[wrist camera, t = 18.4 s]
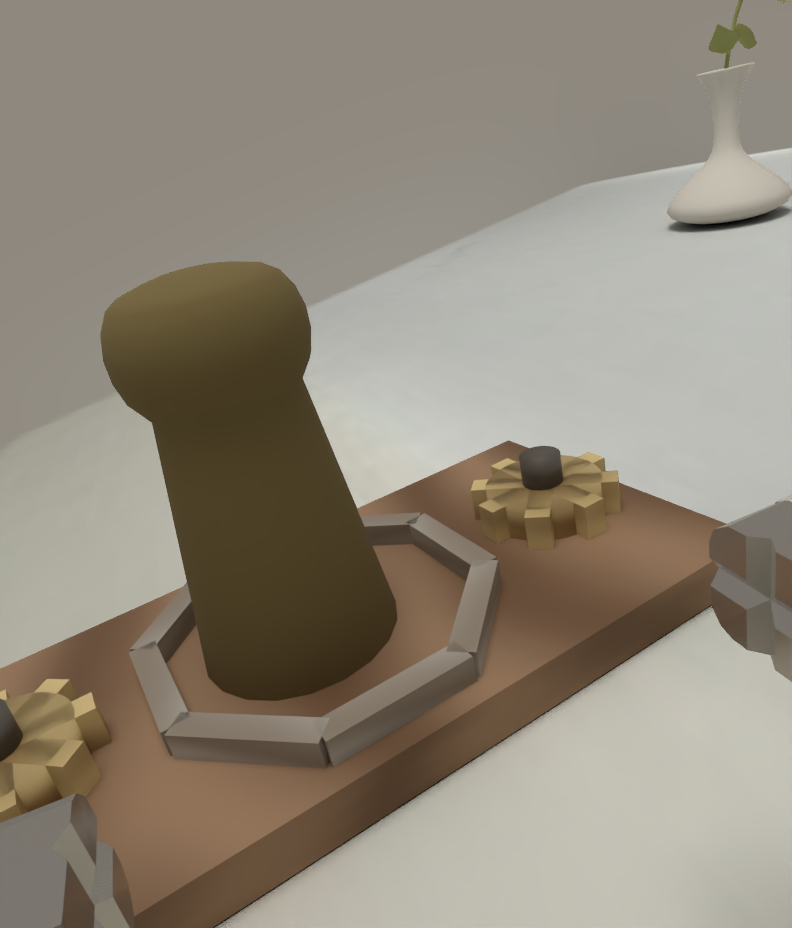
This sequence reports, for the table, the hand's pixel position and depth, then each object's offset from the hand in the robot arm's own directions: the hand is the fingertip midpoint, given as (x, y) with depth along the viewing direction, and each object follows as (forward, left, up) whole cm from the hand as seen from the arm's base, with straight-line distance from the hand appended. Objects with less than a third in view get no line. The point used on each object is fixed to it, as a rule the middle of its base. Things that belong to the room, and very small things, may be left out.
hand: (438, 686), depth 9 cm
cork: (-1, -12, -7) cm, 14 cm away
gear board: (-2, -12, -8) cm, 15 cm away
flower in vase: (-64, -45, -9) cm, 79 cm away
